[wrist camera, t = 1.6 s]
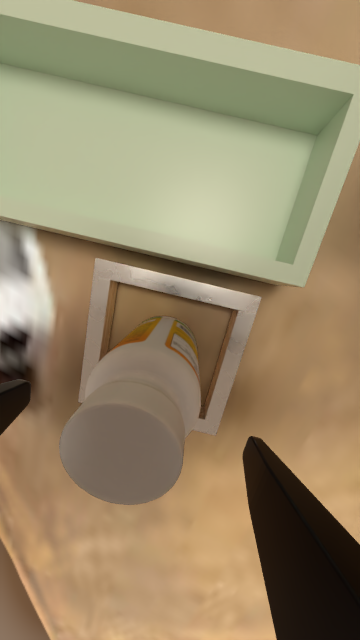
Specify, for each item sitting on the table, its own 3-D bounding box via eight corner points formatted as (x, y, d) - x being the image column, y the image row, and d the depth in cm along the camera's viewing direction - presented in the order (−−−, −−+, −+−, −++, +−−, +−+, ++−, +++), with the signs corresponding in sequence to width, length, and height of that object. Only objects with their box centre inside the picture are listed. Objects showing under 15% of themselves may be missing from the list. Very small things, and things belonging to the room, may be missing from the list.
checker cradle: (254, 295, 14) (261, 296, 12) (213, 421, 17) (215, 435, 15) (105, 259, 14) (95, 257, 13) (88, 391, 17) (78, 402, 15)
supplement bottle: (127, 369, 16) (32, 502, 6) (136, 308, 15) (38, 362, 5) (189, 383, 16) (184, 539, 6) (204, 322, 15) (226, 405, 5)
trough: (328, 132, 12) (386, 70, 8) (276, 285, 14) (304, 287, 10) (-17, 53, 12) (-102, -39, 8) (-15, 216, 14) (-82, 196, 10)
